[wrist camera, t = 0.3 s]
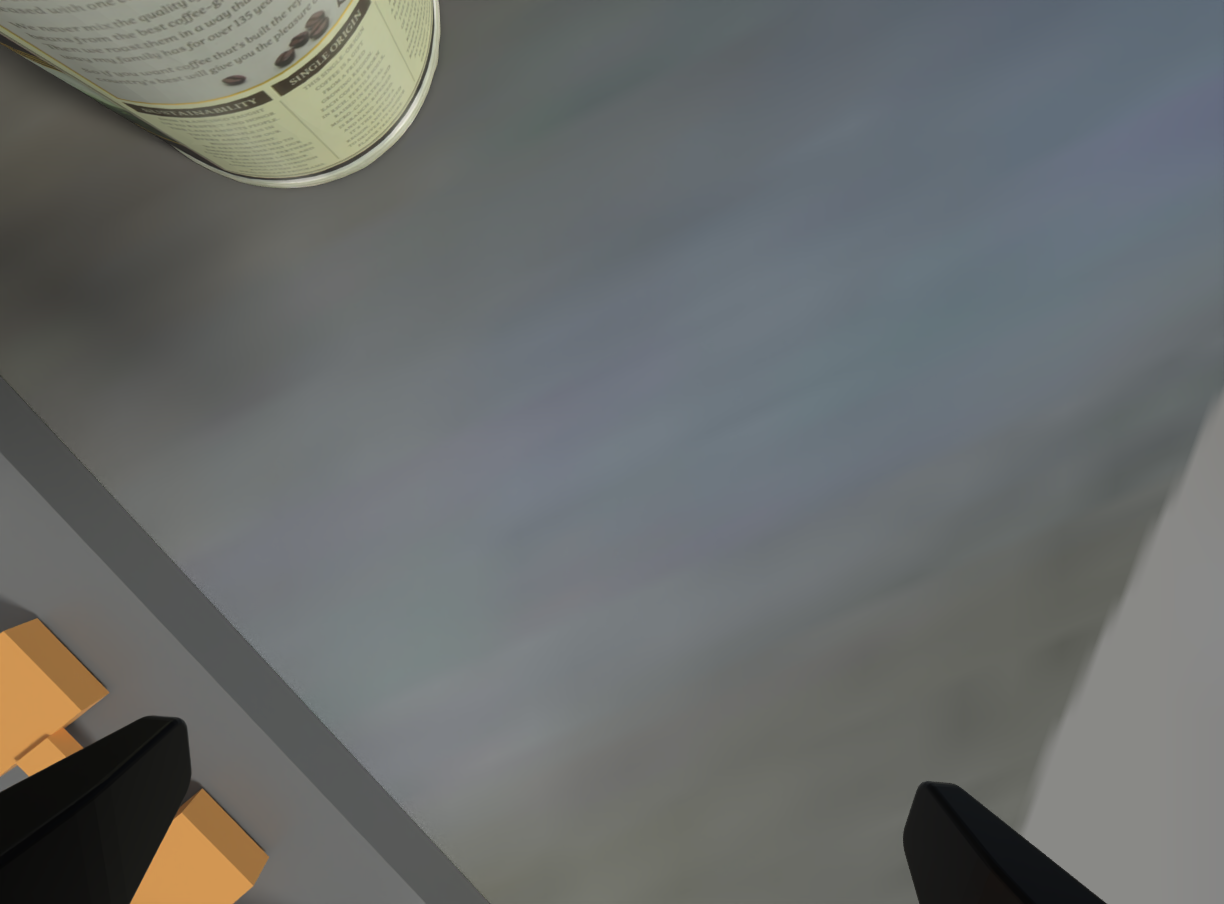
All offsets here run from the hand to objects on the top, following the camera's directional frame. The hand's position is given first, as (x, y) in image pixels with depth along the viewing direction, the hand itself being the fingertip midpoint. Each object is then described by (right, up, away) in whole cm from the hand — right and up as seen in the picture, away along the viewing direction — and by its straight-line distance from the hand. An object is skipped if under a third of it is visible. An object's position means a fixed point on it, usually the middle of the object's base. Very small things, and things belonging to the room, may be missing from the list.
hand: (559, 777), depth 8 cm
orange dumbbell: (-14, -6, +12) cm, 20 cm away
